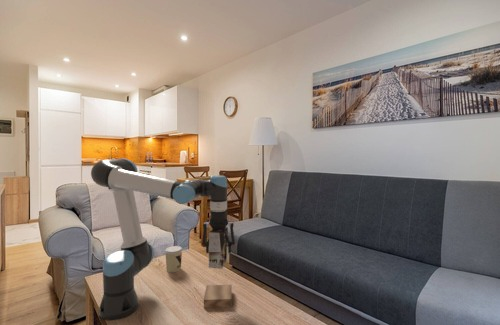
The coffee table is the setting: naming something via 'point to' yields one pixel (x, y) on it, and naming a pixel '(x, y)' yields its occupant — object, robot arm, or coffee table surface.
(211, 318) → the coffee table surface
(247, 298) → the coffee table surface
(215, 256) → the coffee box
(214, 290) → the walnut block
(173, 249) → the coffee cup
